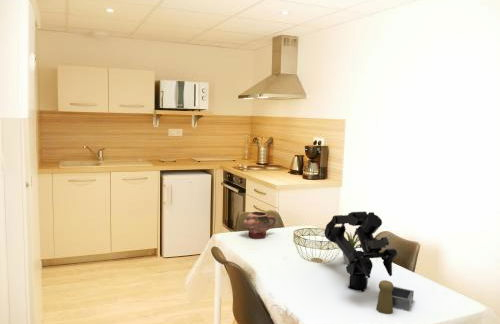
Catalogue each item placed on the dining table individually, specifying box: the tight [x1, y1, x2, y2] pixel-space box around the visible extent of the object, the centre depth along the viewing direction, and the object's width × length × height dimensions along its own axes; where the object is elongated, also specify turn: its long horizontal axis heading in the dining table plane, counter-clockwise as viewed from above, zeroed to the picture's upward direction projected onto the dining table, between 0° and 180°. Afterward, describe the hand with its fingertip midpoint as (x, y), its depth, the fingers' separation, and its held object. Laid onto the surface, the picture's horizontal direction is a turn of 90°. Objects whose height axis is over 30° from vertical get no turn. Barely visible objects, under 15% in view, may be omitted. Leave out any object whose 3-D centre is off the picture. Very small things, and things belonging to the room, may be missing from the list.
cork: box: [375, 280, 394, 315], centre depth 153 cm, size 6×6×11 cm
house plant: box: [342, 230, 361, 266], centre depth 200 cm, size 14×14×16 cm
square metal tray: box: [392, 285, 415, 312], centre depth 159 cm, size 10×10×4 cm
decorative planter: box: [243, 211, 277, 240], centre depth 240 cm, size 20×12×14 cm, turn 116°
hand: (380, 276), depth 156 cm, fingers open, 9 cm apart
